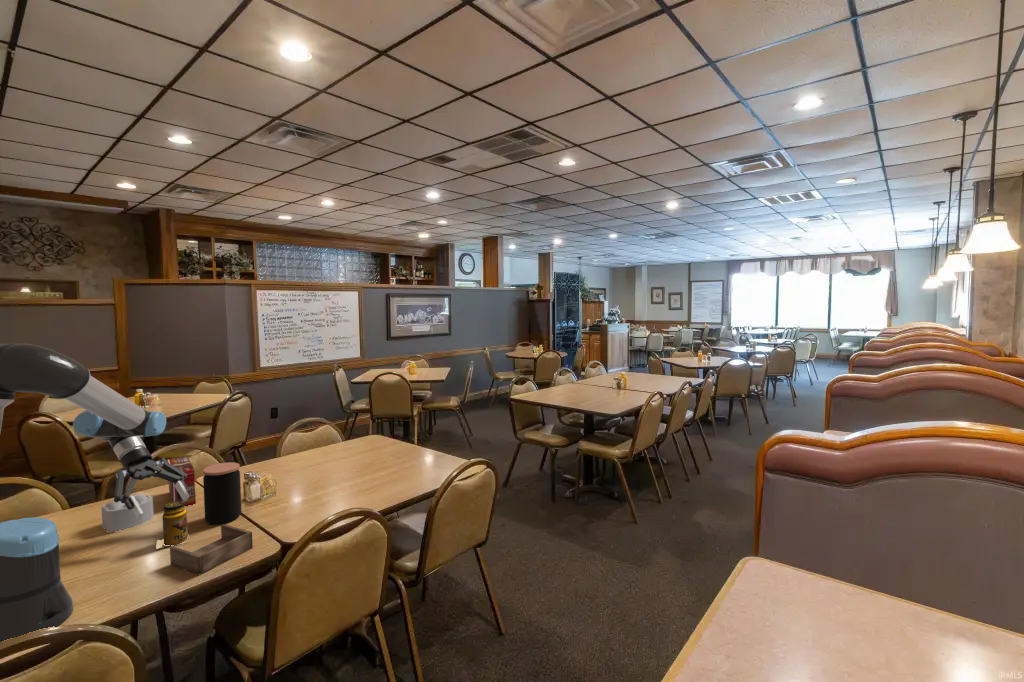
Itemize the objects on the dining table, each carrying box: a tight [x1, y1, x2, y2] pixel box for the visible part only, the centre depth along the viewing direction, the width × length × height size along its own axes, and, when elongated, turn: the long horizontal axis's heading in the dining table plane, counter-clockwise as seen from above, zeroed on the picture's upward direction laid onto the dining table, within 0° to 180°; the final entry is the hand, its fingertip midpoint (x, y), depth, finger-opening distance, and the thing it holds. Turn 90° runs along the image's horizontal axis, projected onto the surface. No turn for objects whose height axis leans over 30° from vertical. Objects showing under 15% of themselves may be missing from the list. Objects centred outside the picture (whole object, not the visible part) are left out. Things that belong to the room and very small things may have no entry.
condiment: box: [159, 501, 188, 546], centre depth 143 cm, size 7×8×12 cm
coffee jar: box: [202, 461, 242, 525], centre depth 159 cm, size 11×11×18 cm
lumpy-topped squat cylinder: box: [101, 493, 155, 533], centre depth 156 cm, size 10×13×9 cm
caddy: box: [169, 523, 254, 576], centre depth 135 cm, size 16×13×5 cm
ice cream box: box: [167, 455, 197, 507], centre depth 176 cm, size 20×6×13 cm, turn 41°
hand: (164, 507), depth 146 cm, fingers open, 13 cm apart
